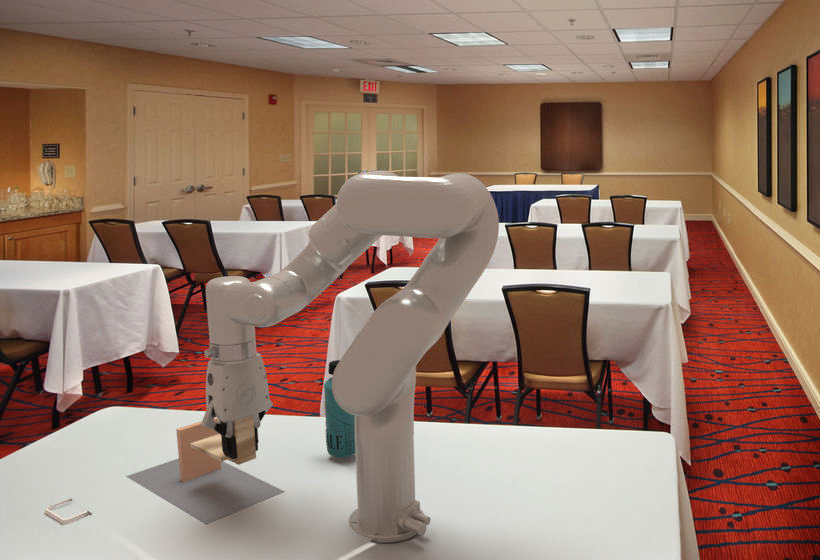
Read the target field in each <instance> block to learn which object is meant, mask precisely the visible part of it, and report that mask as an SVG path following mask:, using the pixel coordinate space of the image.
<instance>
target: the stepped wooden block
mask: <svg viewBox="0 0 820 560" xmlns="http://www.w3.org/2000/svg"><path fill="white" fill-rule="evenodd" d="M232 435H233V436H235V438H236V450H237V458H236V459H231V458H229V457H227V456H225V455H224V453H223V451H222V440H221V435H220V434H217V435H214V436H211V437H208V438H205V439H202V440H199V441H196V442H193V443H190V445H191V447H192V448H194V449H196V450H198V451H200V452H202V453H204V454H206V455H208V456H210V457H212V458H215V459H217V460H219V461H221V462H222V461H223V462H225V461H229V462H232V463H234V464H236V465H239V466H241V465H243V464H245V463H247V462H250V461H253V460H255V459H257V451H256V447H255V432H254V418H253V415H250V416H247V417H244V418H241V419H238V420H235V421H233V434H232Z"/></svg>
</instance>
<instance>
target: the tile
mask: <svg viewBox="0 0 820 560" xmlns="http://www.w3.org/2000/svg"><path fill="white" fill-rule="evenodd" d="M214 422H216V423H218V419H217V417H215V418H214ZM201 423H202V420H201V421H199V422H195V423H192V424H191V423H190V424H188V425H185V426H182V427H179V428H176V431H175V432H176V438H177V439H176V441H177V453H178V458H179V467H180V479H181V481H183V482H185V481H188V480H191V479H193V478H196V477H199V476H202V475H204V474H207V473H210V472H212V471H215V470H218V469H221V461H219V460H217V459H215V458H212V457H210V456H208V455H206V454H204V453H202V452H200V451H198V450H196V449H194V448H192V447H191V445H190V443H193V442H196V441H199V440H202V439H205V438H208V437H211V436H214V435H217V434H218V432H216V431H215V430H213V429H210V428H207V427H204V426H202V424H201Z"/></svg>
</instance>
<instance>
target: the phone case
mask: <svg viewBox="0 0 820 560" xmlns="http://www.w3.org/2000/svg"><path fill="white" fill-rule="evenodd" d="M71 501H73V499H72V498H67V499H64V500H62V501H60V502H57V503H54V504H52V505H49V506H47V507H45V508H44V512H45V514H46V515H47V516H49V517H50V518H52V519H53V520H55V521H57V522H58V523H60V524H62V525H70V524H73V523H74V522H77V521H80V520H81V519H83V518H86V517H89V516H92V515H93V513H92V512H91V511H89V510H86V511H82V512H80V513H77V514H75V515H72V516H69V517H67V518H63V517H62V516H60V515H59V514H57V513H55V512H54V511H55V510H56V507H58V506H61V505H64V504H66V503H69V502H71ZM91 514H92V515H91ZM88 515H89V516H88Z"/></svg>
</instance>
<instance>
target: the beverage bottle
mask: <svg viewBox="0 0 820 560" xmlns="http://www.w3.org/2000/svg"><path fill="white" fill-rule="evenodd" d="M340 360H341V359H336V360H331V361H329V362H328V371H327V372H328V374H329V375H331V377H329V378H328V379H327V380H326V381H325V382H324V383H323V388H324V389H323V391H324V401H323V403H324V416H325V424H324V425H325V436H326V437H325V444H326V451H327V454H328V455H330V456H332V457H335V458H347V457H351V456H354V455H356V453H355V415H352V414H349V413H347V412H346V411H344V410H343V409H342V408H341V407H340V406H339V405H338V403H337V402H336V400H335V398H334V395H333V392H332V377H333V373H334V371H335V368H336V366H337V365H338V363H339V361H340Z"/></svg>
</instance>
